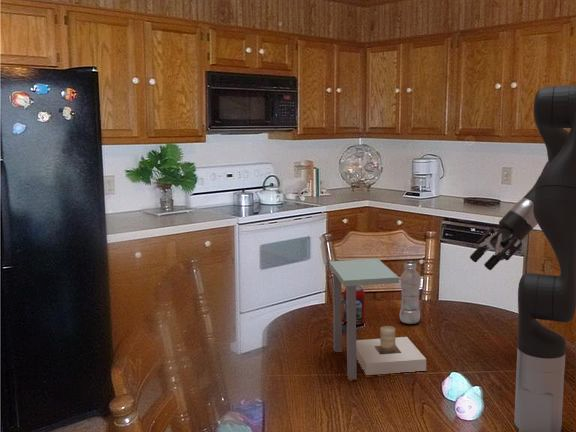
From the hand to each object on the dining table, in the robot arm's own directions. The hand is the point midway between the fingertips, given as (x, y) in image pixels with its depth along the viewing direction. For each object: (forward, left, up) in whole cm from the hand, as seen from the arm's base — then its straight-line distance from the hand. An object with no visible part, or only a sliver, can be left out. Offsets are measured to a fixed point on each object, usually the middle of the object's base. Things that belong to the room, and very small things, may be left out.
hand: (479, 263), depth 155 cm
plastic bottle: (+20, +25, -27) cm, 42 cm away
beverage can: (+12, +41, -27) cm, 51 cm away
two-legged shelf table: (-16, +27, -27) cm, 41 cm away
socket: (-12, +21, -27) cm, 36 cm away
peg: (-12, +21, -27) cm, 36 cm away
